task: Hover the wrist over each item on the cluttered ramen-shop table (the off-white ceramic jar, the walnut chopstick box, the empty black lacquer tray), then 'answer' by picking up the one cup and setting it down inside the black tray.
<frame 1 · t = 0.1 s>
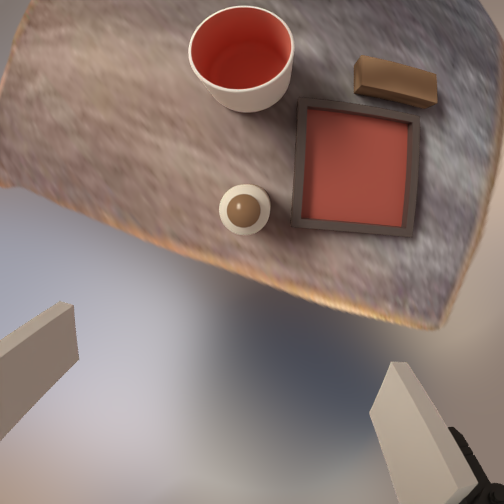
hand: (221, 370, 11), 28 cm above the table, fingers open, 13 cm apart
cup: (249, 77, 34), on the table
ceramic jar: (249, 204, 38), on the table
tray: (355, 168, 36), on the table
chopstick box: (390, 87, 33), on the table
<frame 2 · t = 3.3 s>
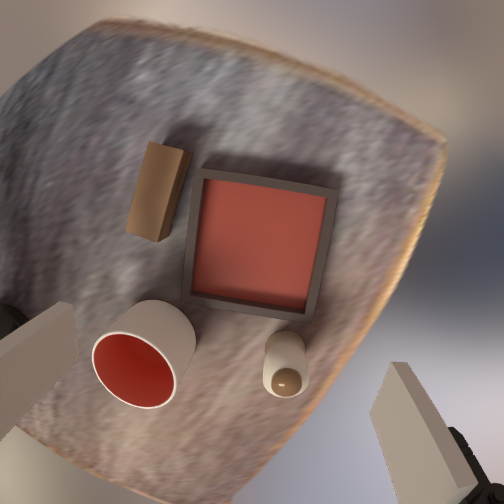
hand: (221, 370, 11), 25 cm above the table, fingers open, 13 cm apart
cup: (161, 331, 39), on the table
ceramic jar: (284, 348, 38), on the table
tray: (257, 244, 35), on the table
chopstick box: (164, 190, 35), on the table
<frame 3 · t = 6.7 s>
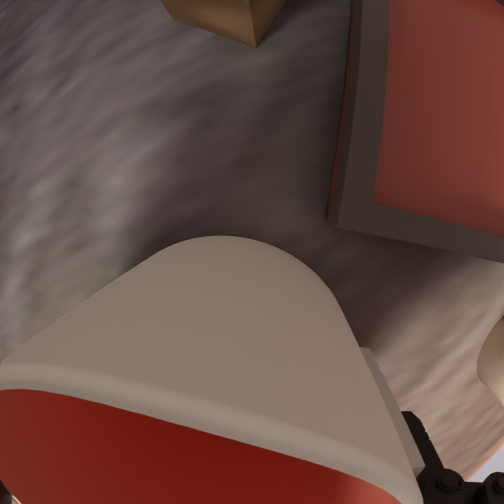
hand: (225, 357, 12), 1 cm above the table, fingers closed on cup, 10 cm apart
cup: (230, 340, 14), on the table, touching gripper
tray: (490, 98, 10), on the table
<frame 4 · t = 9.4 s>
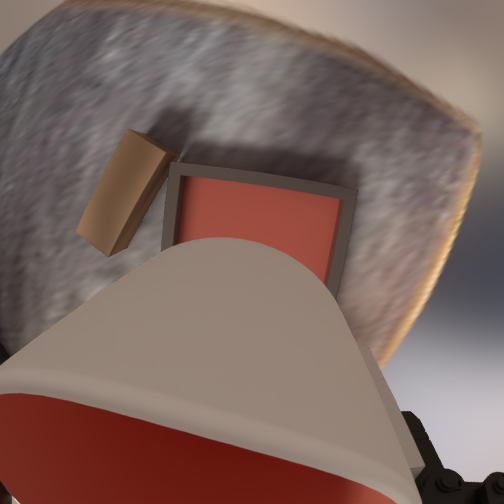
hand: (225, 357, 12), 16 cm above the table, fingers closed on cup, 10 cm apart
cup: (229, 341, 14), point 14 cm above the table, touching gripper
tray: (251, 259, 28), on the table
chopstick box: (135, 191, 27), on the table
when the fingers open (4 cm above the table, at t = 12.1 s): cup drops 2 cm, resting on tray.
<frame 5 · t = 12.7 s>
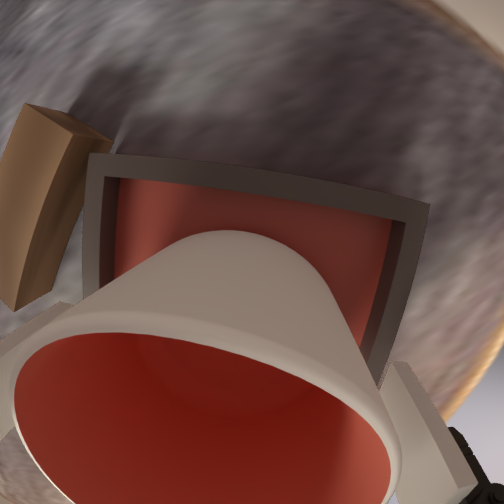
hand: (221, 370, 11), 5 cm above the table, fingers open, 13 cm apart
cup: (233, 326, 15), point 1 cm above the table, touching tray
tray: (236, 319, 16), on the table
chopstick box: (55, 204, 16), on the table
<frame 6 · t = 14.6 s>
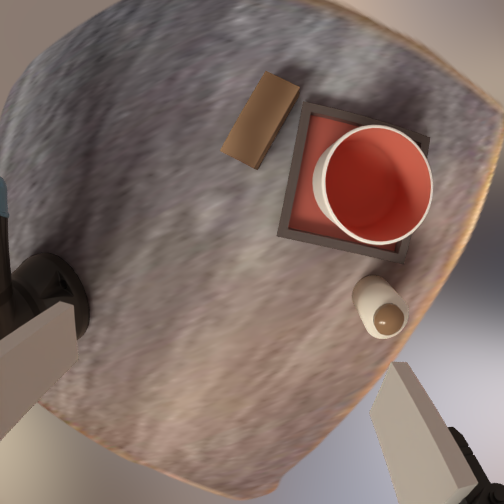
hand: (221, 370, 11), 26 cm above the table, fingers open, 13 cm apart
cup: (354, 183, 33), point 1 cm above the table, touching tray
ceramic jar: (371, 294, 37), on the table
tray: (354, 183, 34), on the table
chopstick box: (262, 124, 34), on the table
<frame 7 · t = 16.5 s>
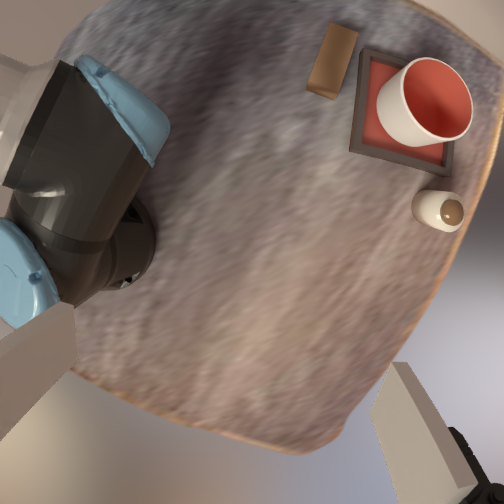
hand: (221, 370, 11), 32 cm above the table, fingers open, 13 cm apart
cup: (405, 113, 36), point 1 cm above the table, touching tray
ceramic jar: (426, 206, 40), on the table
tray: (404, 113, 37), on the table
chopstick box: (329, 65, 37), on the table
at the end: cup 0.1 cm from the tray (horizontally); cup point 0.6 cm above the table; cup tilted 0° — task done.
